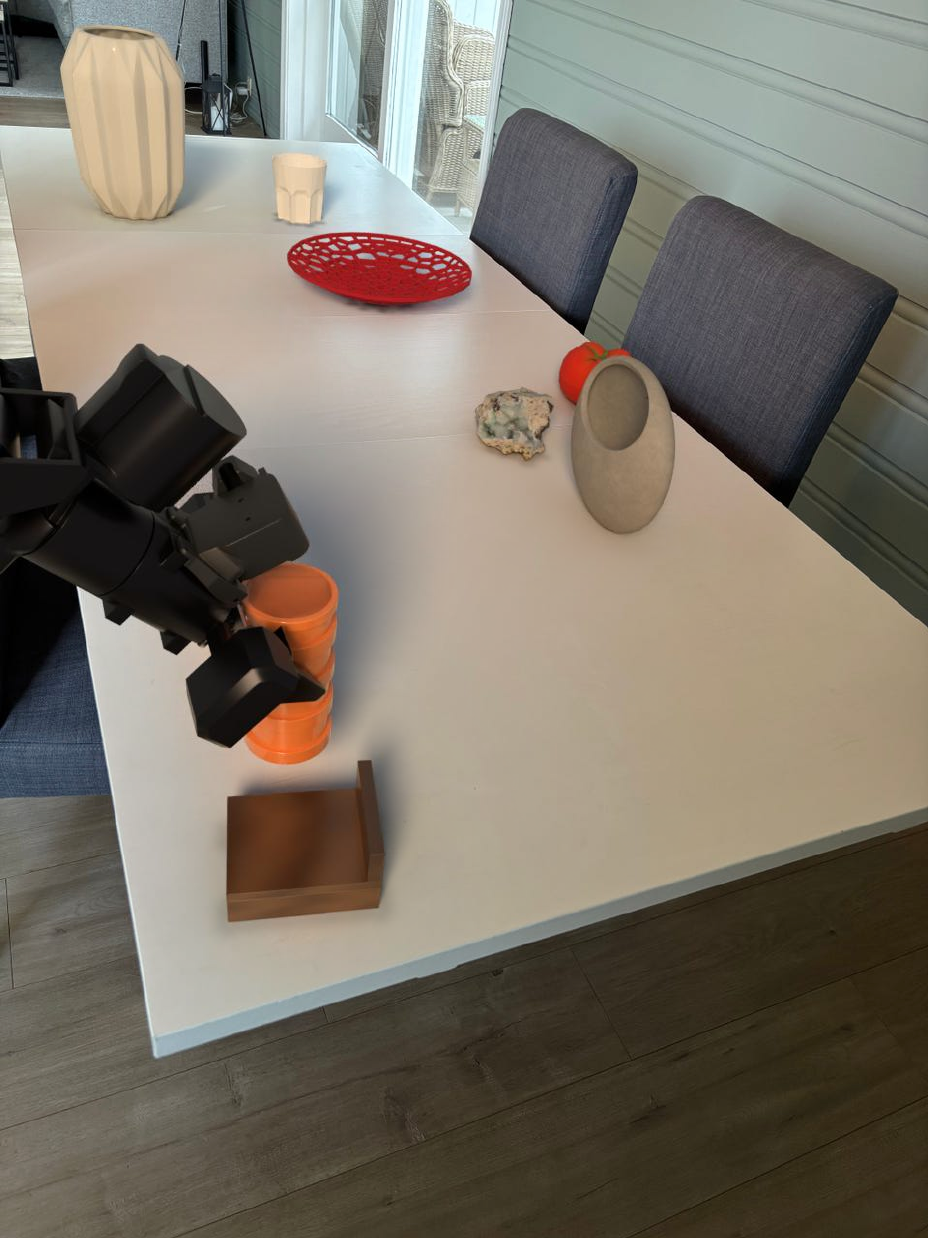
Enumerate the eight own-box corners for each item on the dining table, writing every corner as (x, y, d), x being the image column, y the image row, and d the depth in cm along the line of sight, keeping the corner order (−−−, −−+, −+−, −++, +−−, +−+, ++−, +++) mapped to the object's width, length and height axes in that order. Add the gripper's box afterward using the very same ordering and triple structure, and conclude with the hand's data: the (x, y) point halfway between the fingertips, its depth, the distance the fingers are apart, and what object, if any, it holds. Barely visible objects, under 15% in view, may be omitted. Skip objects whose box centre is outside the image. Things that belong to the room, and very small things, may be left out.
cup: (327, 226, 171) (329, 170, 165) (273, 223, 169) (273, 165, 162) (322, 210, 178) (324, 155, 172) (270, 206, 176) (270, 150, 170)
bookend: (228, 923, 60) (224, 867, 56) (228, 824, 66) (225, 768, 62) (378, 908, 62) (385, 854, 58) (366, 814, 68) (371, 759, 64)
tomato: (540, 400, 126) (550, 348, 121) (580, 377, 133) (591, 328, 129) (607, 428, 122) (620, 376, 117) (644, 403, 129) (658, 353, 124)
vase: (171, 234, 157) (156, 50, 140) (59, 216, 157) (31, 30, 140) (207, 204, 172) (198, 34, 155) (105, 187, 172) (85, 15, 155)
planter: (541, 478, 110) (572, 327, 98) (593, 474, 112) (629, 326, 100) (609, 570, 97) (654, 409, 85) (667, 563, 99) (718, 406, 87)
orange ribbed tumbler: (224, 733, 65) (217, 590, 57) (287, 689, 69) (288, 550, 61) (288, 779, 63) (290, 636, 54) (348, 730, 67) (358, 591, 58)
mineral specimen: (486, 481, 117) (549, 448, 120) (509, 470, 110) (576, 435, 112) (452, 412, 116) (516, 381, 119) (473, 396, 108) (541, 363, 111)
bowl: (251, 274, 148) (250, 242, 145) (395, 253, 165) (397, 224, 161) (358, 344, 132) (360, 310, 129) (505, 312, 149) (509, 282, 146)
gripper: (257, 551, 43) (445, 679, 54) (189, 376, 56) (352, 508, 67) (100, 699, 45) (312, 794, 56) (69, 498, 58) (247, 607, 69)
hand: (308, 662), depth 62 cm, fingers closed on orange ribbed tumbler, 6 cm apart
